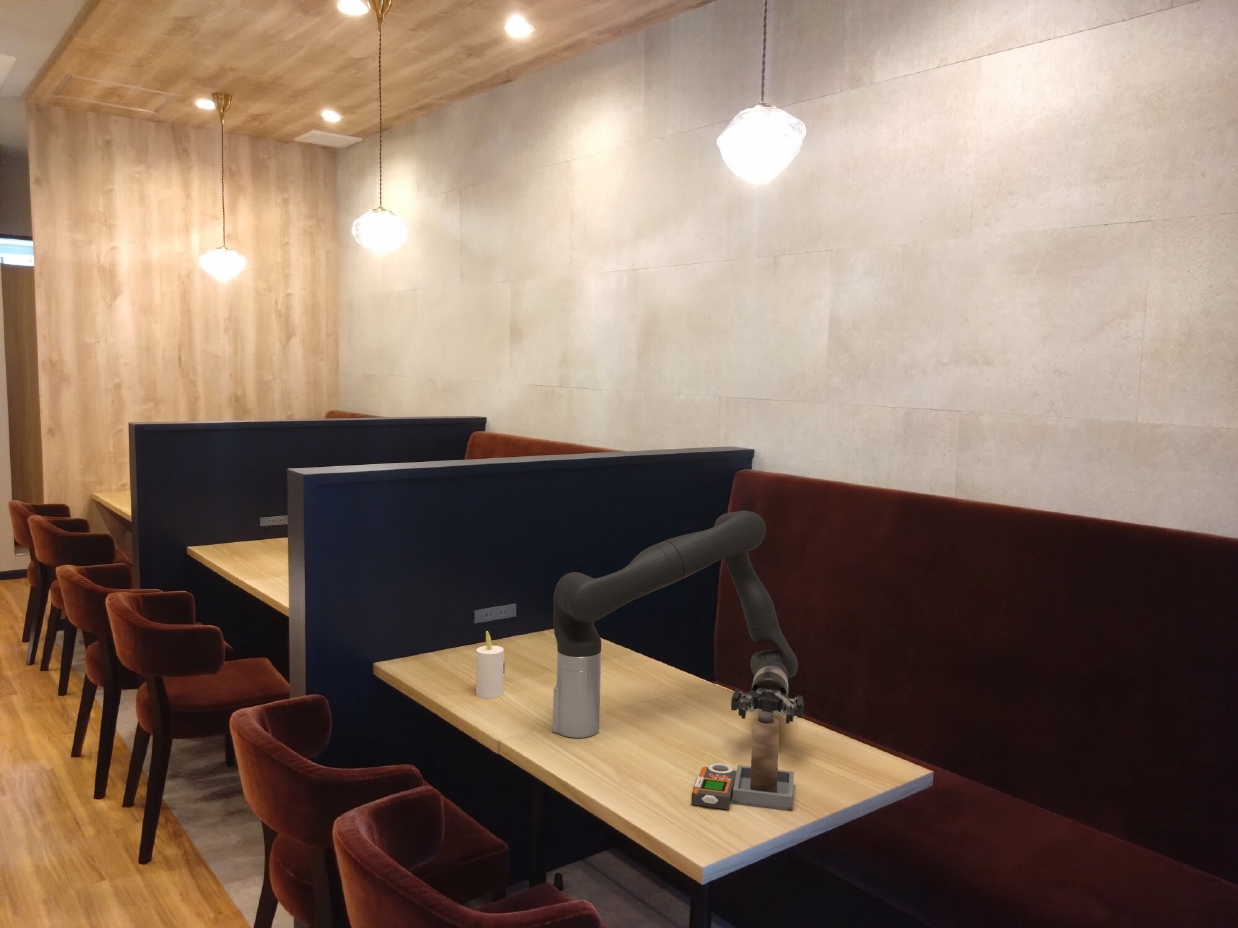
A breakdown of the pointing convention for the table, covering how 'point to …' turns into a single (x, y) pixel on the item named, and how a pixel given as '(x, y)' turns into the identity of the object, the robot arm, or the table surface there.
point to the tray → (761, 798)
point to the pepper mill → (764, 752)
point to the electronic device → (714, 786)
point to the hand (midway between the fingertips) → (765, 716)
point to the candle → (489, 670)
